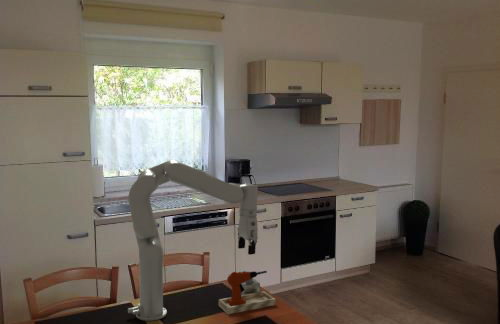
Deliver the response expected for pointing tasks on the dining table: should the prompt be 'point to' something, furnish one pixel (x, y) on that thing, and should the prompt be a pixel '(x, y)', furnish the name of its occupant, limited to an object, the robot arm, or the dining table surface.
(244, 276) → the toy drill
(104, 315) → the dining table surface
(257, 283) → the socket block
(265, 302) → the marbled rectangular tray
